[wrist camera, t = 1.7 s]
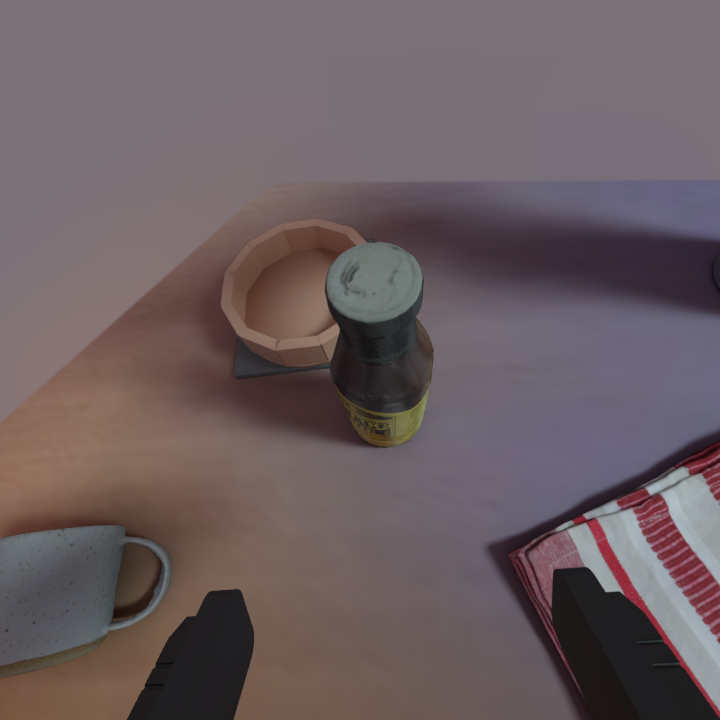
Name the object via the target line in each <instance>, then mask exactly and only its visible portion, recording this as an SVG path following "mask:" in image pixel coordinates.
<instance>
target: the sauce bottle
mask: <svg viewBox="0 0 720 720" xmlns="http://www.w3.org/2000/svg"><path fill="white" fill-rule="evenodd" d="M423 282H424V279H423V275H422V271H421V268H420V266H419V264H418V262H417V261H416V259H415V258H414V257H413V256H412V255H411V254H409V253H408V252H406V251H404V250H403V249H402V248H400V247H399V246H397V245H394V244H390V243H385V242H376V243H363V244H359V245H356V246H354V247H352V248H350V249H348V250H346V251H345V252H343V253H342V254H340V255H339V256H338V257H337V258H336V260H335V261H334V262H333V263H332V265H331V266H330V267H329V270H328V272H327V277H326V282H325V294H326V299H327V305H328V308H329V312H330V313H331V315H332V317H333V319H334V320H335V321H336V322H337V323H338V326H339V329H340V331H339V336H338V339H337V343H336V346H335V350H334V353H333V356H332V359H331V364H330V372H331V376H332V380H333V383H334V384H335V387H336V389H337V391H338V393H339V397H340V398H341V401H342V403H343V405H344V407H345V410H346V412H347V414H348V416H349V418H350V420H351V422H352V425H353V427H354V428H355V430H356V432H357V433H358V434H359V435H360V436H361V437H362V438H363V439H364V440H366V441H367V442H369V443H371V444H373V445H377V446H379V447H382V448H387V447H393V446H398V445H401V444H403V443H405V442H407V441H409V440H410V439H411V438H412V437H413V436H414V435H415V433H416V432H417V431H418V429H419V428H420V426H421V423H422V419H423V415H424V410H425V407H426V402H427V397H428V392H429V388H430V383H431V377H432V366H433V351H434V350H433V347H432V343H431V340H430V337H429V335H428V334H427V331H426V330H425V328H424V327H423V325H422V324H421V323H420V321H419V320H418V319H416V315H417V314H418V313H419V310H420V308H421V303H422V299H423Z"/></svg>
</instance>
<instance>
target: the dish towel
mask: <svg viewBox="0 0 720 720" xmlns="http://www.w3.org/2000/svg"><path fill="white" fill-rule="evenodd" d="M508 556H509V559H510V560H511V562H512V564H513V566H514V568H515V571H516V572H517V574H518V576H519V578H520V580H521V582H522V584H523V585H524V587H525V589H526V591H527V593H528V595H529V597H530V599H531V601H532V602H533V604H534V606H535V608H536V610H537V612H538V614H539V616H540V617H541V620H542V622H543V624H544V626H545V627H546V629H547V631H548V633H549V635H550V637H551V639H552V641H553V642H554V644H555V646H556V648H557V650H558V652H559V654H560V655H561V658H562V659H563V661H564V663H565V665H566V667H567V669H568V671H569V673H570V674H571V676H572V678H573V680H574V682H575V683H576V685H577V687H578V689H579V691H580V693H581V690H580V688H579V686H578V684H577V681H576V679H575V677H574V675H573V673H572V670H571V668H570V666H569V664H568V661H567V659H566V657H565V655H564V653H563V650H562V648H561V646H560V644H559V641H558V639H557V636H556V633H555V629H554V626H553V621H552V614H551V608H552V583H553V571H554V569H561V568H576V567H588V568H589V569H590V570H591V571H592V572H593V573H594V575H595V576H596V578H597V579H598V581H599V582H600V584H601V585H602V587H603V589H604V590H605V592H615V591H620V592H621V593H622V594H623V595H625V596H626V597H627V598H628V599H629V600H630V601H632V602H633V603H634V604H635V605H636V606H637V607H639V608H640V609H641V610H642V611H643V612H644V613H645V614H646V615H647V617H648V618H649V620H650V621H651V622H652V624H653V625H654V627H655V628H656V629H657V631H658V632H659V634H660V635H661V636H662V638H663V641H664V643H665V644H667V645H668V646H669V648H670V649H671V650H672V652H673V653H674V655H675V656H676V657H677V659H678V660H679V663H680V665H681V667H684V669H685V670H686V671H687V673H688V674H689V676H690V677H691V678H692V680H693V681H694V683H695V684H696V686H697V687H698V688H699V690H700V691H701V693H702V694H703V695H704V697H705V698H706V700H707V701H708V702H709V704H710V705H711V707H712V708H713V709H714V711H715V712H716V714H717V715H718V716H719V718H720V441H717V442H716V443H714V444H711V445H709V446H707V447H705V448H703V449H701V450H700V451H698V452H696V453H694V454H692V455H691V456H689V457H687V458H686V459H684V460H683V461H681V462H680V463H678V464H677V465H676V466H674V467H671V468H670V469H668V470H667V471H666V472H664V473H663V474H661V475H660V476H659V477H657V478H655V479H653V480H651V481H649V482H647V483H645V484H643V485H641V486H639V487H637V488H636V489H634V490H632V491H630V492H628V493H625V494H623V495H621V496H619V497H617V498H615V499H613V500H611V501H609V502H607V503H605V504H603V505H601V506H599V507H597V508H595V509H593V510H590V511H588V512H586V513H585V514H583V515H581V516H579V517H577V518H575V519H573V520H570V521H568V522H565V523H564V524H562V525H560V526H558V527H556V528H555V529H553V530H551V531H548V532H546V533H544V534H543V535H541V536H539V537H537V538H536V539H534V540H532V541H531V542H530V543H529V544H527V545H525V546H523V547H521V548H519V549H517V550H515V551H513V552H511V553H510V554H508ZM581 694H582V693H581ZM582 696H583V695H582ZM583 698H584V697H583ZM584 700H585V699H584ZM585 702H586V701H585Z"/></svg>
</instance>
